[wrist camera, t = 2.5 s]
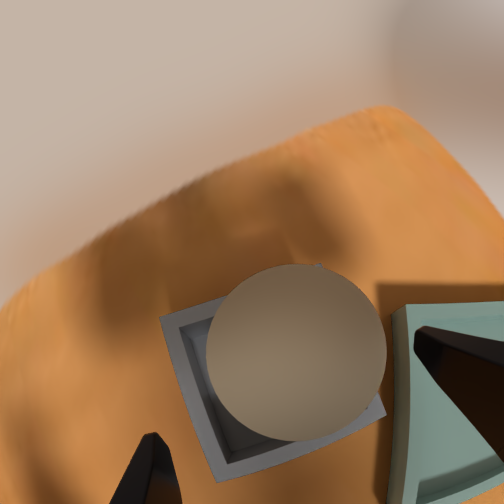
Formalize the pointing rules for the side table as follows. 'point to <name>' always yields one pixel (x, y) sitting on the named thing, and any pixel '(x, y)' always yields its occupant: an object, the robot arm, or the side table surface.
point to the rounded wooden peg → (296, 352)
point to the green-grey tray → (438, 413)
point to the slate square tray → (218, 417)
